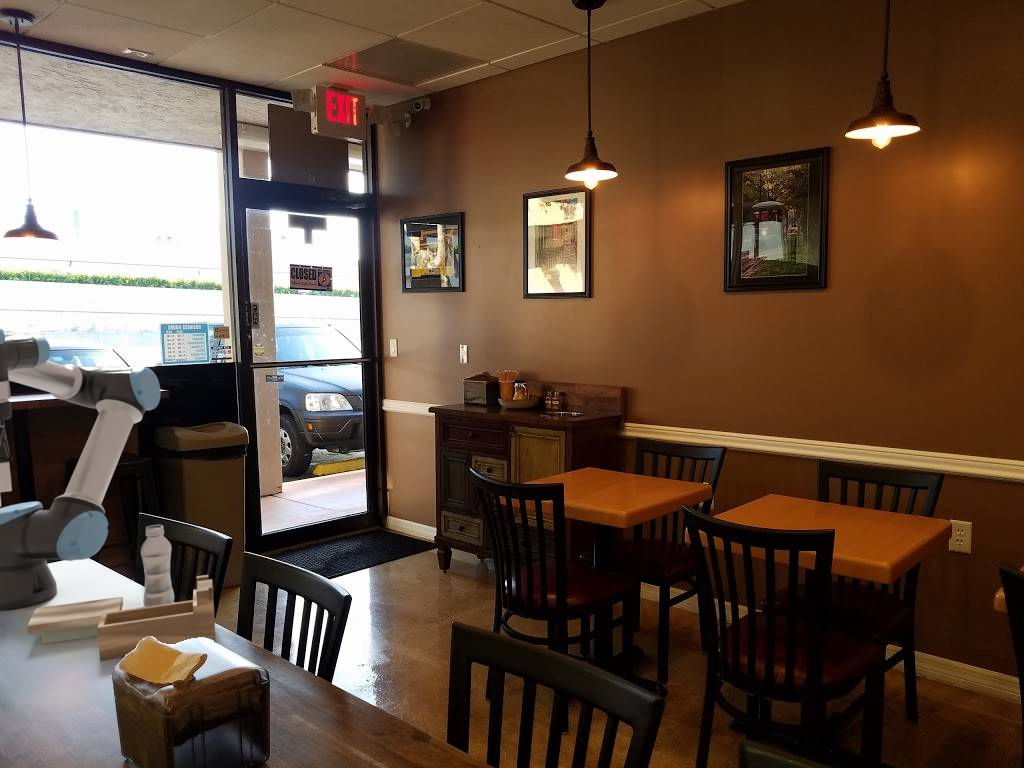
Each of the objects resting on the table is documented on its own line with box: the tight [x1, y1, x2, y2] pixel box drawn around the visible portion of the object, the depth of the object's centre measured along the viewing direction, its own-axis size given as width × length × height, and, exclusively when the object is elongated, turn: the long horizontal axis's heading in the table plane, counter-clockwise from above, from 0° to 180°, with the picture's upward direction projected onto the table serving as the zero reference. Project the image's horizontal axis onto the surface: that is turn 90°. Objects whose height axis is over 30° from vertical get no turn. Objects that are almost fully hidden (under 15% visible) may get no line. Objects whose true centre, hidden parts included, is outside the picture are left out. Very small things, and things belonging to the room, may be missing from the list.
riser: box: [40, 625, 98, 645], centre depth 172 cm, size 7×13×3 cm, turn 112°
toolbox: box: [97, 574, 216, 661], centre depth 165 cm, size 10×22×12 cm, turn 112°
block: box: [196, 578, 214, 599], centre depth 168 cm, size 5×3×2 cm, turn 22°
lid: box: [26, 596, 124, 636], centre depth 171 cm, size 10×17×2 cm, turn 112°
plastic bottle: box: [140, 524, 175, 607], centre depth 183 cm, size 6×7×20 cm
